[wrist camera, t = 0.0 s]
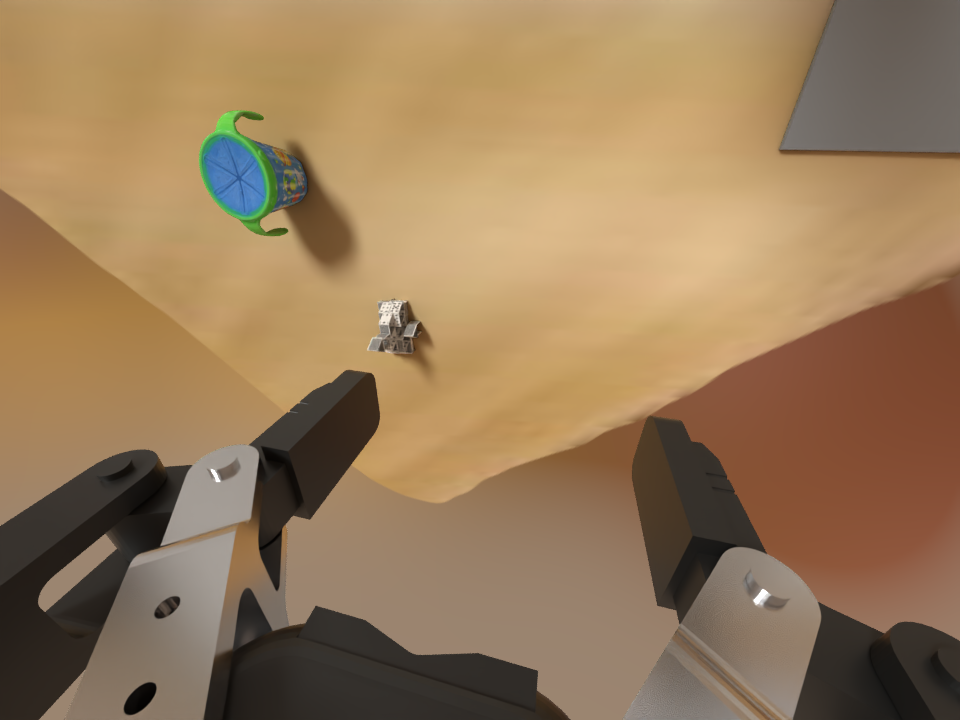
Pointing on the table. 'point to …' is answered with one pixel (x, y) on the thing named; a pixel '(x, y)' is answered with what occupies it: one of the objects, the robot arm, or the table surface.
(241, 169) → the snack cup
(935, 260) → the table surface
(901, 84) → the mat
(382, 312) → the house of cards
